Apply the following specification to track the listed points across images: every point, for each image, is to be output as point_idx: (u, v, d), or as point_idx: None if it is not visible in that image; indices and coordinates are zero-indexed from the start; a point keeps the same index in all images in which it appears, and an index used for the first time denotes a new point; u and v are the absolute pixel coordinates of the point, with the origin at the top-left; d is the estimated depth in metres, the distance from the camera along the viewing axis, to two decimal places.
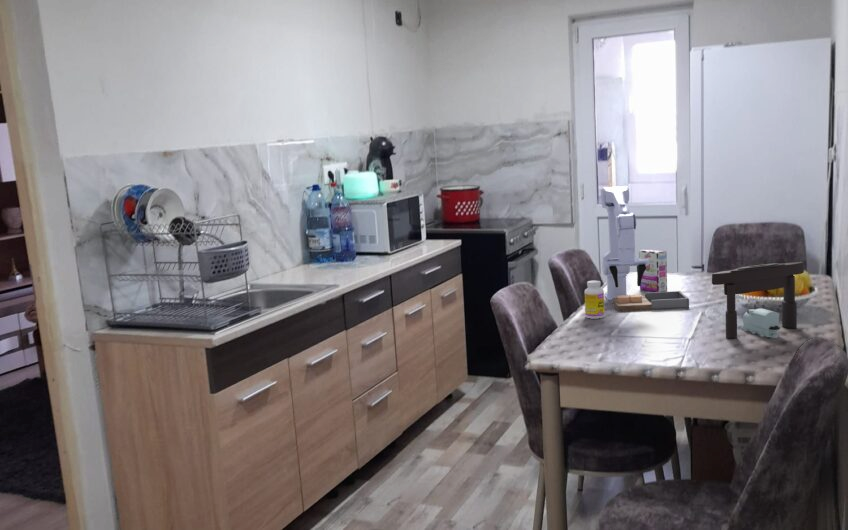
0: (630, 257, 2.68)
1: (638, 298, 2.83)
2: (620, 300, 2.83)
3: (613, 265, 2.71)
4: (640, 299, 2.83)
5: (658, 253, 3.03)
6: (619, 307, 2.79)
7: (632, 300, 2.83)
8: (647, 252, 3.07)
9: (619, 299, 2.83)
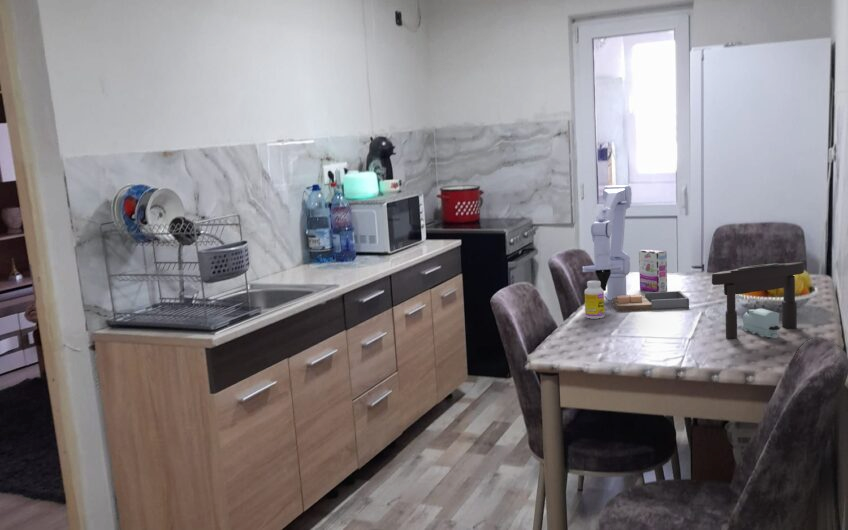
0: (605, 262, 2.81)
1: (638, 298, 2.83)
2: (620, 300, 2.83)
3: (589, 270, 2.84)
4: (640, 299, 2.83)
5: (658, 253, 3.03)
6: (619, 307, 2.79)
7: (632, 300, 2.83)
8: (647, 252, 3.07)
9: (619, 299, 2.83)
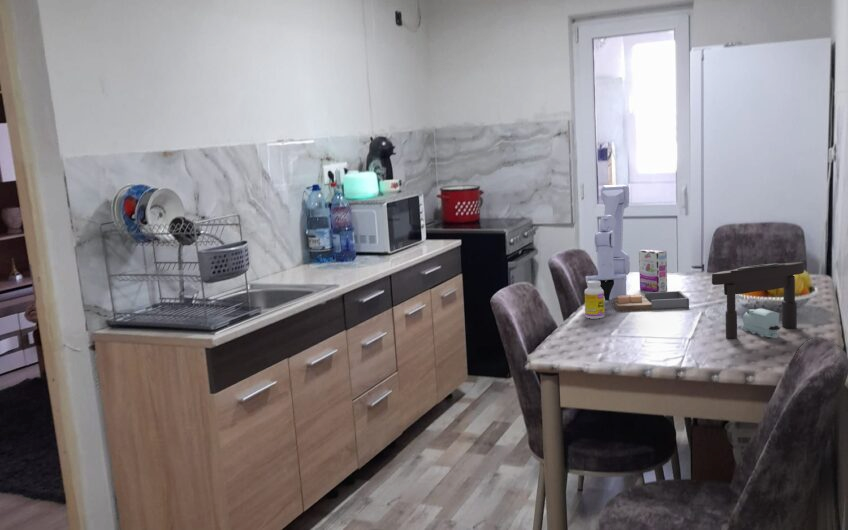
0: (609, 272, 2.81)
1: (638, 298, 2.83)
2: (620, 300, 2.83)
3: (593, 280, 2.85)
4: (640, 299, 2.83)
5: (658, 253, 3.03)
6: (619, 307, 2.79)
7: (632, 300, 2.83)
8: (647, 252, 3.07)
9: (619, 299, 2.83)
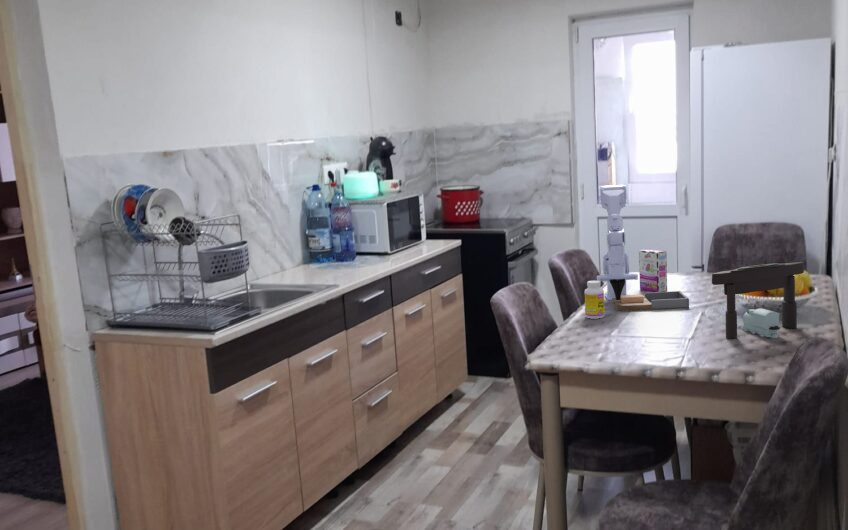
0: (620, 272, 2.81)
1: (639, 298, 2.83)
2: (623, 300, 2.83)
3: (604, 279, 2.84)
4: (641, 299, 2.82)
5: (658, 253, 3.03)
6: (619, 307, 2.79)
7: (633, 300, 2.83)
8: (647, 252, 3.07)
9: (622, 299, 2.83)
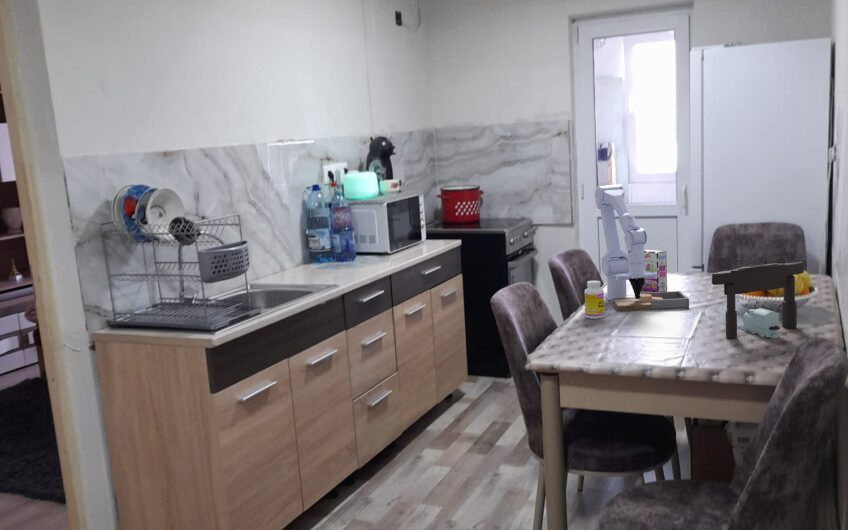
0: (640, 270, 2.80)
1: None
2: (642, 299, 2.82)
3: (623, 278, 2.84)
4: None
5: (658, 253, 3.03)
6: (619, 307, 2.79)
7: None
8: (647, 252, 3.07)
9: (641, 298, 2.82)
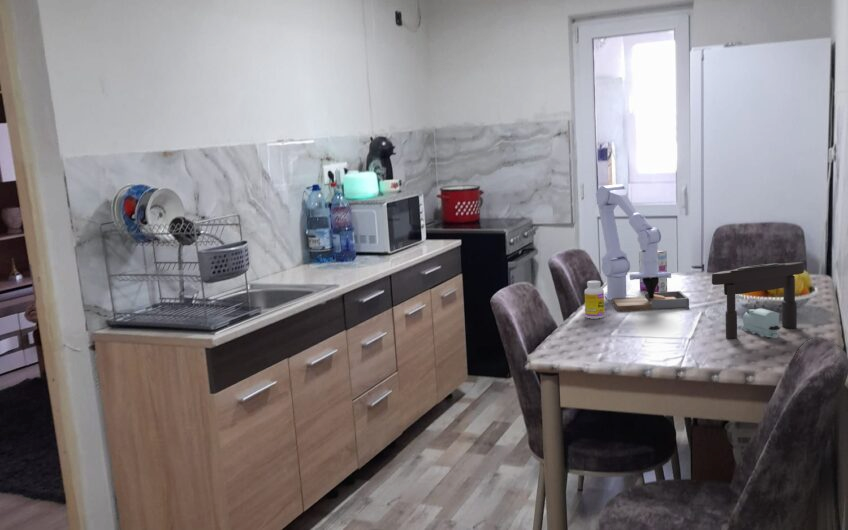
0: (654, 270, 2.80)
1: None
2: (655, 299, 2.82)
3: (637, 278, 2.83)
4: None
5: (658, 253, 3.03)
6: (619, 307, 2.79)
7: None
8: None
9: (655, 297, 2.82)
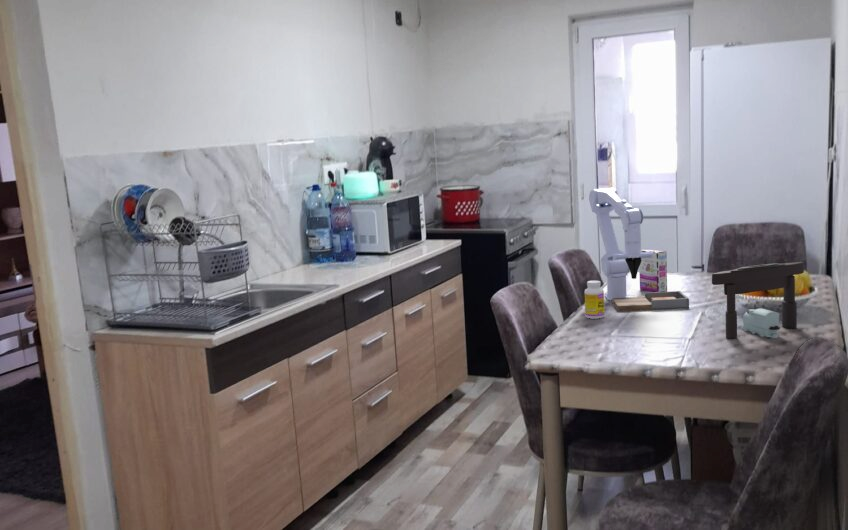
0: (636, 250, 2.81)
1: None
2: None
3: (620, 258, 2.84)
4: None
5: (658, 253, 3.02)
6: (619, 307, 2.79)
7: None
8: None
9: None
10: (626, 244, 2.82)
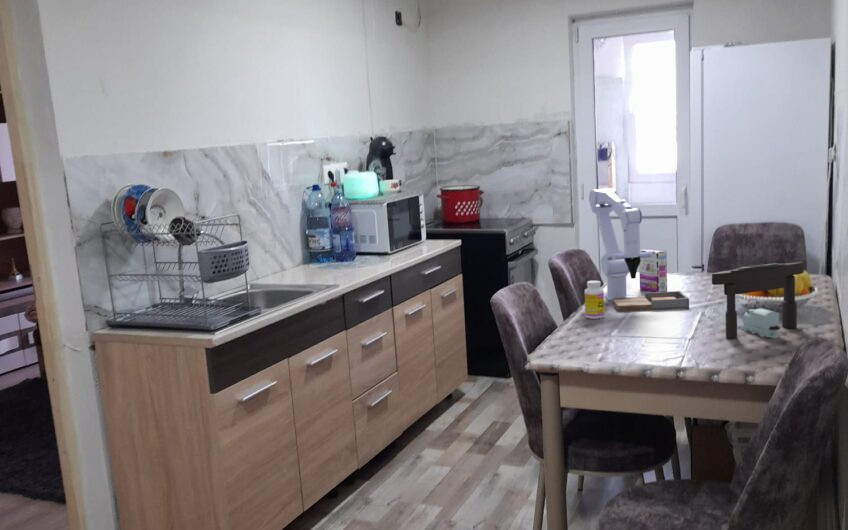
0: (635, 249, 2.81)
1: None
2: None
3: (619, 258, 2.84)
4: None
5: (658, 253, 3.03)
6: (619, 307, 2.79)
7: None
8: None
9: None
10: (625, 244, 2.82)
